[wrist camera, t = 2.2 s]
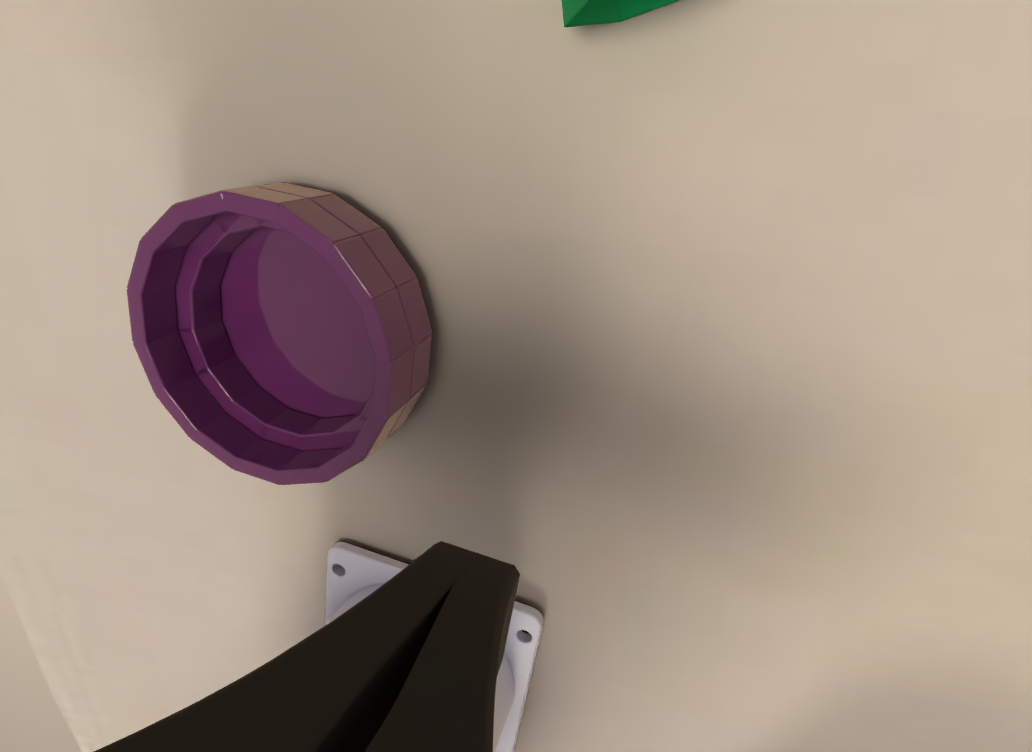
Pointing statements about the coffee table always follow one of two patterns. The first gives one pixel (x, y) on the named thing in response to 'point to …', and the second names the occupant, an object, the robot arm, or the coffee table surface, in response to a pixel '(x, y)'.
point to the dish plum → (279, 329)
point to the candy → (606, 10)
